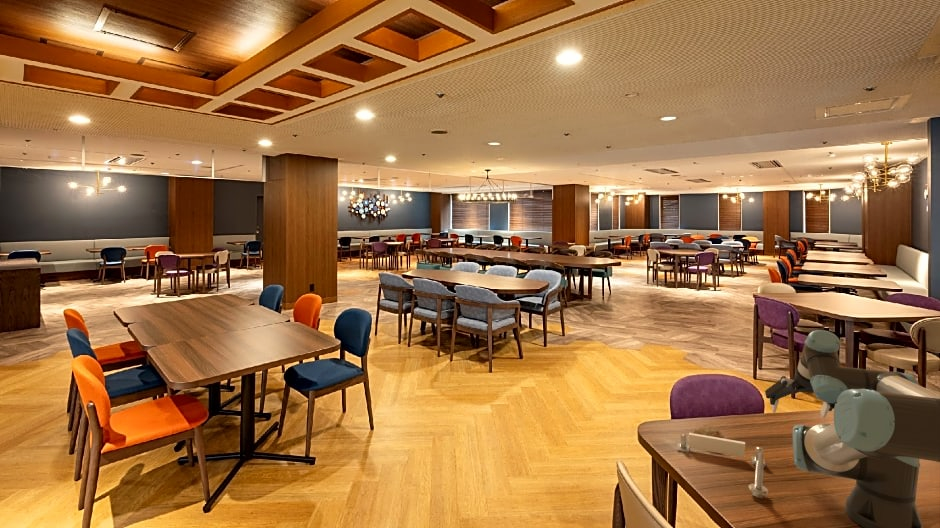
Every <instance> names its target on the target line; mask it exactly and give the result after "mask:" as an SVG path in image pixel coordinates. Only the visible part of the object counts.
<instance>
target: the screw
mask: <svg viewBox="0 0 940 528" xmlns="http://www.w3.org/2000/svg"><path fill="white" fill-rule="evenodd" d="M763 454H764V453H763ZM763 454H762V453H761V452H758V460H757V462H756V463H757V464H756V465H755V467H756V468H755V475H754V476H755V478H754V482H753V483H750V484H748V487H747V488H748V489H749V490H750V491H751V492H752V496H754V497H755V498H759V499H763V498H764V495H768V494H769V490H768V488H767V487H766V486H764V485H763V482H764V481H763V480H764V479H763V478H764V468H765V467H763V466H764V465H763V464H764V463H763V462H764V461H765V460H764V461H763V457H764V455H763Z"/></svg>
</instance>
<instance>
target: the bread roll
mask: <svg viewBox="0 0 940 528" xmlns="http://www.w3.org/2000/svg"><path fill="white" fill-rule="evenodd" d="M693 433H694V434H700V435H706V436H711V437H717V438H723V439H725V436H724V434H723V432H722V431H720V429H718V428H717V427H715V426H713V425H711V424H706V425H702V426H699V427H697V428H695V429H694V431H693Z"/></svg>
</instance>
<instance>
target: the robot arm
mask: <svg viewBox="0 0 940 528" xmlns="http://www.w3.org/2000/svg"><path fill="white" fill-rule="evenodd" d="M840 346H841V340H840V338H839V337H838V336H837V335H836V334H834V333H833V332H831V331H828V330H824V329H817V330H812V331H811V332H810V333H809V334H808V335H807V337H806V339H805V341H804V346H803V348H802V351H801V354H800V355H801V356H800V358H799V360H798V363H797V364H798V365H797V367H796V370H795V373H794V375H793V376H794V377H792V378H787V377H786V376H785V375H782V376H781V377H780V379H778V381H777V382H775V383H774V384H772V385H771V386H769V387H767V389H765V390H764V393H765V397H766V399H769V404H770V405H771V410H772V411H771V412H772V413H774V414H775V413H777V408H778V406H779V401H780V399H782V398H784V397H787V396H789V395H793V394H795V395H796V394H798V393H807V394H814V396H815V398H817V399H818V400H820V401H822V402H823V403H822V406H821V408H820V415H821V418H822V419H826V418H827V415H828V413H829V412H832V411H833V423H831V424H830V423H819V424H816V425H814V426H808V425H807V426H806V425H804V424H801V425H800V424H797V425H796V424H795V425H794V426H793V428H792V453H793V461H794V465H795V467H796V468H797V469H799V470H802V471H806V472H807V473H817V474H822V475H827V476H833V477H839V478H845V479H850V480H856V481H855V485H854V487H853V488H852V490H851V492H850V493H849V495H848V497H847V498H846V500H845V506H844V507H845V508H844V511H845V513H846V516H848V517H849V518H850V520H852V521H853V522H854V523H856V524H857V525H859V526H860V527H863V528H923V526H924V525H923V523H922V519H921V517H920V513H919V511H918V506H917V503H916V499H917V498H916V497H917V492H918V491H917V489H918V482H919V472H920V467H921V463H920V460H925V461H931V462H936V463H940V393H936V392H934V391H932V390H931V389H928V388H926V387H923V386H922V385H920V383H919V381H918V380H917V378H916V377H915V376H914V375H912V374H910V373H903V372H899V371H887V370H877V369H865V368H859V367H858V368H857V367H847V366H842V365H841V362H840V358H839V354H838V351H840V348H841V347H840Z"/></svg>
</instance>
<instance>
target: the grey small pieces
mask: <svg viewBox="0 0 940 528" xmlns="http://www.w3.org/2000/svg"><path fill="white" fill-rule="evenodd" d="M687 442H688V434H686V433H681V434H680V441H679V442H677V451H678V452H683V453H690V448H689V447H688V443H687ZM754 450H755V451H754V452H755V453H754V456H752V455H751V456H750V460H751V463H752V466H753V465H754V466H757V465H756V464H757V463H756V462H757V460H758V452H761V453H762V454H764V453H763V451H764V448H763V447H762V446H755V449H754ZM763 461H764V462H763V463H764V464H763V465H764V466H763V467H764V468H766V467H767V463H766V460H765V458H763Z"/></svg>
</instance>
